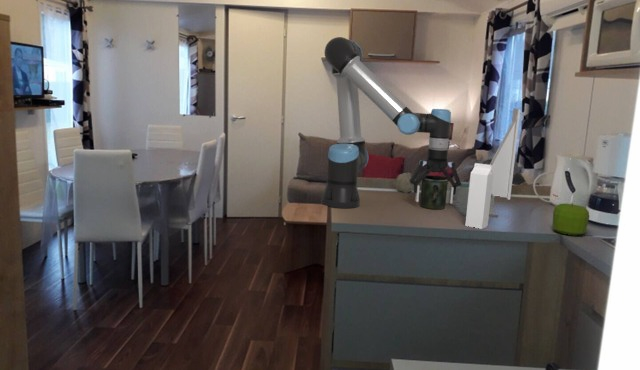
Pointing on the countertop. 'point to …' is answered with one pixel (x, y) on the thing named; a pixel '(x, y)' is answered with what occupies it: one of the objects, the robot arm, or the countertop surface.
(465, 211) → the grey storage bin
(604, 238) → the countertop surface
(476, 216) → the milk
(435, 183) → the mug
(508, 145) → the white slanted panel
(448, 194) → the loose relay
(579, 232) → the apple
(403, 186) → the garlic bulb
